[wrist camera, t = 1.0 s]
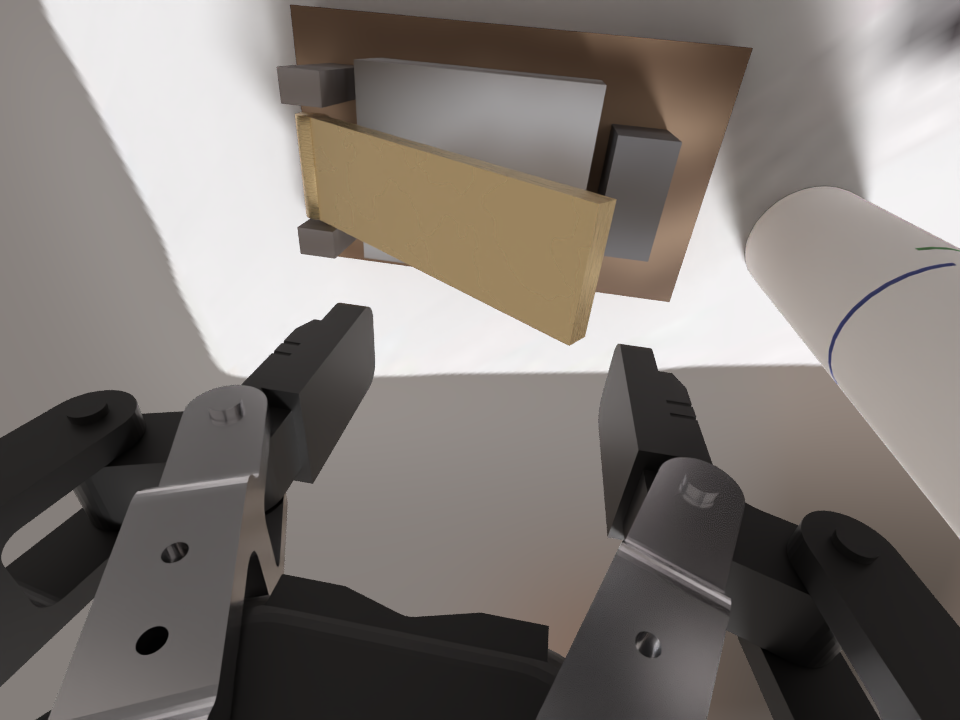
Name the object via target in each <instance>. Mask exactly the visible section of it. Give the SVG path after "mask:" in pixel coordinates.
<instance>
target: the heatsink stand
mask: <svg viewBox="0 0 960 720" xmlns="http://www.w3.org/2000/svg"><path fill="white" fill-rule="evenodd" d="M290 9H291V18H292V27H293V36H294V45H295V55H296V64H297V65H293V66H278V67H277V73H278V81H279V89H280V96H281V103H283V104H291V105H300V106H301V109H302V112H312V113H322V114H327V115H329V117H331V118H335V119H338V120H342V121H345V122H349V123H352V124H356V125H359V126H363V127H366V128H370V129H373V130H377V131H380V132H384V133H387V134H391V135H394V136H398V137H401V138H405V139H408V140H412V141H415V142H419V143H422V144H426V145H429V146H433V147H436V148H440V149H443V150H447V151H450V152H453V153H457V154H460V155H464V156H467V157H471V158H474V159H478V160H481V161H485V162H488V163H492V164H495V165H499V166H502V167H506V168H509V169H513V170H516V171H520V172H523V173H527V174H530V175H534V176H537V177H541V178H544V179H548V180H551V181H555V182H558V183H562V184H565V185H569V186H572V187H576V188H579V189H583V190H586V191H590V192H593V193H597V194H600V195H603V196H607V197H610V198H614V199H617V200H616V204H615V209H614V213H613V217H612V222H611V226H610V230H609V234H608V239H607V243H606V247H605V252H604V256H603V260H602V265H601V269H600V273H599V278H598V282H597V286H596V291H595V292H600V293H608V294H615V295H622V296H629V297H637V298H644V299H651V300H658V301H666V302H670V299H671V296H672V292H673V289H674V286H675V283H676V280H677V277H678V274H679V271H680V268H681V265H682V262H683V259H684V256H685V253H686V250H687V247H688V244H689V241H690V238H691V235H692V232H693V229H694V225H695V222H696V219H697V216H698V213H699V210H700V207H701V204H702V201H703V198H704V195H705V192H706V189H707V186H708V183H709V180H710V177H711V174H712V171H713V168H714V165H715V162H716V158H717V155H718V152H719V149H720V146H721V143H722V140H723V137H724V134H725V131H726V128H727V125H728V122H729V119H730V116H731V113H732V110H733V107H734V104H735V101H736V98H737V95H738V92H739V88H740V85H741V82H742V79H743V76H744V73H745V70H746V67H747V64H748V61H749V58H750V55H751V52H752V49H753V48H747V47H737V46H726V45H715V44H705V43H694V42H683V41H673V40H662V39H651V38H641V37H630V36H619V35H609V34H598V33H587V32H577V31H566V30H555V29H545V28H534V27H523V26H513V25H502V24H491V23H481V22H470V21H459V20H449V19H438V18H427V17H417V16H406V15H395V14H385V13H374V12H363V11H353V10H342V9H331V8H321V7H310V6H299V5H290ZM297 228H298V236H299V244H300V251H301V254H306V255H314V256H321V257H328V258H336V257H337V256H339V257H346V258H353V259H361V260H368V261H375V262H382V263H390V264H397V265H404V266H410V265H408V264H406V263H404V262H402V261H400V260H398V259H396V258H394V257H392V256H390V255H388V254H386V253H385V252H383V251H381V250H379V249H377V248H375V247H373V246H371V245H369V244H367V243H365V242H363V241H361V240H359V239H357V238H355V237H353V236H351V235H349V234H347V233H345V232H343V231H341V230H339V229H337V228H335V227H333V226H331V225H329V224H327V223H325V222H323V221H321V220H316V219H309V220H308V221H306V222H305V223H303V224H302V225H300V226H299V227H297ZM411 267H412V266H411Z"/></svg>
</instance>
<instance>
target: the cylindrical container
mask: <svg viewBox="0 0 960 720" xmlns="http://www.w3.org/2000/svg"><path fill="white" fill-rule="evenodd" d="M745 261H746V265H747V268H748V271H749V272H750V274H751V276H752V278H753V279H754V280H755V281H756V283H757V284H758V285H759V286H760V288H761V289H762V290H763V291H764V293H765V294H766V295H767V297H768V298H769V299H770V300H771V302H772V303H773V304H774V305H775V307H776V308H777V309H778V310H779V312H780V313H781V314H782V315H783V317H784V318H785V319H786V320H787V322H788V323H789V324H790V325H791V327H792V328H793V329H794V331H795V332H796V333H797V334H798V336H799V337H800V338H801V339H802V341H803V342H804V343H805V344H806V346H807V347H808V348H809V349H810V351H811V352H812V353H813V354H814V356H815V357H816V358H817V360H818V361H819V362H820V363H821V365H822V366H823V367H824V368H825V370H826V371H827V372H828V373H829V375H830V376H831V377H832V378H833V380H834V381H835V382H836V383H837V384H838V385H839V387H840V388H841V390H842V391H843V392H844V394H845V395H846V396H847V397H848V398H849V400H850V401H851V402H852V404H853V405H854V406H855V407H856V408H857V410H858V411H859V412H860V414H861V415H862V416H863V417H864V419H865V420H866V421H867V423H868V424H869V425H870V426H871V427H872V429H873V430H874V431H875V433H876V434H877V435H878V436H879V438H880V439H881V440H882V441H883V443H884V444H885V445H886V446H887V448H888V449H889V450H890V451H891V453H892V454H893V455H894V456H895V458H896V459H897V460H898V462H899V463H900V464H901V465H902V467H903V468H904V469H905V470H906V471H907V473H908V474H909V475H910V477H911V478H912V479H913V480H914V482H915V483H916V484H917V485H918V487H919V488H920V489H921V490H922V492H923V493H924V494H925V496H926V497H927V498H928V499H929V501H930V502H931V503H932V504H933V506H934V507H935V508H936V509H937V511H938V512H939V513H940V514H941V516H942V517H943V518H944V519H945V521H946V522H947V523H948V524H949V526H950V527H951V528H952V529H953V531H954V532H955V533H956V534H957V536H958V537H959V538H960V249H959V248H957V247H956V246H954V245H952V244H950V243H948V242H946V241H944V240H942V239H940V238H938V237H936V236H934V235H932V234H930V233H929V232H927V231H925V230H923V229H921V228H919V227H917V226H915V225H913V224H911V223H909V222H907V221H905V220H904V219H902V218H900V217H898V216H896V215H894V214H892V213H890V212H888V211H886V210H884V209H882V208H880V207H878V206H877V205H875V204H873V203H871V202H869V201H867V200H865V199H863V198H861V197H859V196H857V195H855V194H853V193H852V192H850V191H847V190H844V189H841V188H838V187H829V186H821V187H811V188H807V189H803V190H800V191H797V192H795V193H793V194H790V195H788V196H786V197H785V198H783V199H781V200H780V201H778V202H776V203H775V204H774V205H773V206H772V207H770V208H769V209H768V210H767V211H766V212H765V213H764V214H763V215H762V216H761V217H760V218H759V220H758V221H757V222H756V224H755V226H754V227H753V229H752V230H751V232H750V235H749V238H748V240H747V244H746V250H745Z"/></svg>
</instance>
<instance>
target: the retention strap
mask: <svg viewBox="0 0 960 720" xmlns="http://www.w3.org/2000/svg"><path fill="white" fill-rule="evenodd" d="M295 120H296V128H297V137H298V146H299V154H300V163H301V171H302V180H303V188H304V197H305V205H306V214H307V217H308V218H311V219H316V220H321V221H323V222H325V223H327V224H329V225H331V226H333V227H335V228H337V229H339V230H341V231H343V232H345V233H347V234H349V235H351V236H353V237H355V238H357V239H359V240H361V241H363V242H365V243H367V244H369V245H371V246H373V247H375V248H377V249H379V250H381V251H383V252H385V253H386V254H388V255H390V256H392V257H394V258H396V259H398V260H400V261H402V262H404V263H406V264H408V265H410V266H412V267H414V268H416V269H418V270H420V271H422V272H424V273H426V274H428V275H430V276H432V277H434V278H436V279H438V280H440V281H442V282H444V283H446V284H448V285H450V286H452V287H454V288H456V289H458V290H460V291H462V292H464V293H466V294H468V295H470V296H472V297H474V298H476V299H478V300H480V301H482V302H483V303H485V304H487V305H489V306H491V307H493V308H495V309H497V310H499V311H501V312H503V313H505V314H507V315H509V316H511V317H513V318H515V319H517V320H519V321H521V322H523V323H525V324H527V325H529V326H531V327H533V328H535V329H537V330H539V331H541V332H543V333H545V334H547V335H549V336H551V337H553V338H555V339H557V340H559V341H561V342H563V343H565V344H567V345H569V346H570V345H572V344H573V343H575V342H577V341H578V340H580V339H582V338H583V337H585V334H586V329H587V325H588V321H589V316H590V312H591V308H592V303H593V299H594V295H595V291H596V286H597V282H598V278H599V273H600V269H601V265H602V260H603V256H604V252H605V247H606V243H607V239H608V234H609V230H610V226H611V222H612V217H613V213H614V209H615V204H616V200H617V199H614V198H610V197H607V196H603V195H600V194H597V193H593V192H590V191H586V190H583V189H579V188H576V187H572V186H569V185H565V184H562V183H558V182H555V181H551V180H548V179H544V178H541V177H537V176H534V175H530V174H527V173H523V172H520V171H516V170H513V169H509V168H506V167H502V166H499V165H495V164H492V163H488V162H485V161H481V160H478V159H474V158H471V157H467V156H464V155H460V154H457V153H453V152H450V151H447V150H443V149H440V148H436V147H433V146H429V145H426V144H422V143H419V142H415V141H412V140H408V139H405V138H401V137H398V136H394V135H391V134H387V133H384V132H380V131H377V130H373V129H370V128H366V127H363V126H359V125H356V124H352V123H349V122H345V121H342V120H338V119H335V118H331V117H329V115H327V114H322V113H312V112H301V113H295Z"/></svg>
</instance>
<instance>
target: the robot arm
mask: <svg viewBox="0 0 960 720" xmlns="http://www.w3.org/2000/svg"><path fill="white" fill-rule="evenodd" d="M374 370H375V350H374V329H373V314H372V310H371V308H370V307H366V306H359V305H352V304H345V303H337V304H336V305H335V306H334V307H333V308H332V309H331V311H330V312H329V313H328V314H327V315H326V316H325V317H324V318H323V319H322V320H312V321H310V322H308V323H306V324H304V325H302V326H300V327H298V328H296V329H295V330H294V331H293V332H292V333H291V334H290V335H289V336H288V337H287V338H286V339H285V340H284V343H281V344H280V345H279V346H278V347H277V349H276V350H275V351H274V354H273V353H272V354H271V355H270V356H269V357H268V358H267V359H266V360H265V361H264V362H263V363H262V364H261V365H260V366H259V367H258V368H257V369H256V370H255V371H254V372H253V373H252V374H251V375H250V376H249V377H248V378H247V379H246V380H245V382H244V383H243V384H242V385H230V386H223V387H219V388H215V389H212V390H209V391H207V392H205V393H203V394H201V395H199V396H197V397H196V398H195V399H193V400H192V401H191V402H190V403H189V404H188V405H187V406H186V408H185V410H184V411H183V412H166V413H148V414H142V413H141V411H140V408H139V406H138V403H137V401H136V399H135V398H134V397H133V396H132V395H131V394H129V393H126V392H123V391H116V390H104V391H97V392H90V393H87V394H83V395H80V396H77V397H74V398H71V399H69V400H67V401H65V402H63V403H61V404H59V405H57V406H55V407H54V408H52V409H50V410H48V411H47V412H45V413H43V414H42V415H40V416H38V417H36V418H34V419H33V420H31V421H29V422H28V423H26V424H24V425H22V426H20V427H19V428H17V429H15V430H14V431H12V432H10V433H8V434H7V435H5V436H3V437H1V438H0V687H1V686H2V685H3V684H4V683H5V682H6V681H7V680H8V679H9V678H10V677H11V676H12V675H13V674H14V673H15V672H16V671H17V670H18V669H20V667H22V666H23V665H24V664H25V663H26V662H27V661H28V660H29V659H30V658H31V657H32V656H33V655H34V654H35V653H36V652H38V651H39V650H40V649H41V648H42V647H43V645H45V644H46V643H47V642H48V641H49V640H50V639H51V638H52V637H53V636H54V635H55V634H56V633H58V632H59V631H60V630H61V629H62V628H63V627H64V626H65V625H66V624H67V623H68V622H69V621H70V620H71V619H72V618H73V617H74V616H75V615H77V614H78V613H79V612H80V611H81V610H82V609H83V608H84V607H85V606H86V605H87V604H88V603H89V602H90V601H91V600H92V599H93V598H94V600H93V603H92V605H91V608H90V610H89V613H88V616H87V618H86V621H85V624H84V626H83V629H82V631H81V634H80V637H79V639H78V642H77V644H76V647H75V650H74V652H73V655H72V658H71V660H70V663H69V666H68V668H67V671H66V674H65V676H64V679H63V681H62V684H61V687H60V689H59V692H58V695H57V697H56V700H55V702H54V705H53V708H52V710H50V711H49V712H47V713H45V714H44V715H43V716H41V717H39V718H38V719H36V720H707V715H708V710H709V706H710V702H711V697H712V692H713V688H714V683H715V679H716V674H717V670H718V665H719V660H720V656H721V652H722V646H723V643H724V638H725V633H726V630H727V631H729V632H731V633H733V634H735V635H737V636H738V639H739V642H740V644H741V646H742V648H743V651H744V653H745V655H746V658H747V660H748V662H749V664H750V666H751V669H752V671H753V674H754V676H755V678H756V680H757V683H758V685H759V687H760V690H761V692H762V694H763V696H764V699H765V701H766V703H767V705H768V708H769V710H770V712H771V715H772V717H773V719H774V720H880V719H879V717H878V715H877V713H876V712H875V710H874V708H873V707H872V705H871V703H870V702H869V700H868V698H867V696H866V695H865V693H864V691H863V690H862V688H861V686H860V685H859V683H858V681H857V680H856V678H855V676H854V675H853V673H852V671H851V670H850V668H849V666H848V665H847V663H846V661H845V659H844V658H843V656H842V654H841V653H840V651H841V650H842V649H843V651H844V652H845V654H846V656H847V657H848V659H849V661H850V662H851V664H852V666H853V667H854V669H855V671H856V672H857V674H858V676H859V677H860V679H861V681H862V682H863V684H864V686H865V687H866V689H867V691H868V692H869V694H870V695H871V697H872V699H873V701H874V702H875V704H876V706H877V709H878V711H879V714H880V717H881V720H960V627H959V626H958V625H957V624H956V622H955V621H954V620H953V618H952V617H951V616H950V615H949V614H948V613H947V611H946V610H945V609H944V608H943V606H942V605H941V604H940V603H939V602H938V600H937V599H936V598H935V597H934V595H932V593H931V592H930V591H929V589H928V588H927V587H926V586H925V584H924V583H923V582H922V581H921V580H920V578H919V577H918V576H917V575H916V574H915V572H914V571H913V570H912V569H911V568H910V566H909V565H908V564H907V563H906V561H905V560H904V559H903V558H902V557H901V555H900V554H899V553H898V552H897V550H896V549H895V548H894V547H893V546H892V545H891V544H890V543H889V542H888V541H887V540H886V539H885V538H884V537H882V536H881V535H880V534H879V533H877V532H876V531H875V530H873V529H871V528H870V527H869V526H867V525H865V524H864V523H862V522H860V521H858V520H856V519H854V518H851V517H849V516H846V515H843V514H840V513H836V512H831V511H815V512H811V513H809V514H808V515H806V516H805V517H804V518H803V520H802V521H801V523H800V524H799V526H798V525H796V524H793V523H791V522H788V521H786V520H783V519H781V518H778V517H776V516H773V515H771V514H768V513H766V512H763V511H761V510H759V509H756V508H754V507H752V506H751V505H749V504H747V503H745V498H744V495H743V492H742V491H741V489H740V487H739V486H738V484H737V483H736V482H735V481H734V480H733V479H732V478H731V477H730V476H729V475H728V474H727V473H725V472H724V471H723V470H721V469H719V468H718V467H716V466H714V465H713V464H712V461H711V458H710V456H709V453H708V450H707V447H706V444H705V441H704V438H703V435H702V433H701V430H700V427H699V424H698V421H697V420H696V415H695V412H694V410H693V407H691V401H690V398H689V395H688V392H687V389H686V388H685V386H683V384H682V383H681V382H680V381H679V380H678V379H677V378H676V377H675V376H674V375H673V374H672V373H667V372H660V371H658V369H657V365H656V361H655V358H654V354H653V351H652V349H651V348H644V347H638V346H631V345H624V344H618V345H617V346H616V348H615V351H614V354H613V357H612V361H611V365H610V368H609V372H608V376H607V379H606V383H605V387H604V390H603V394H602V398H601V402H600V408H599V419H598V420H599V421H598V423H599V436H600V447H601V460H602V473H603V485H604V499H605V510H606V524H607V536H608V537H609V538H615V539H620V540H623V541H622V543H621V545H620V547H619V549H618V551H617V553H616V555H615V557H614V559H613V561H612V563H611V565H610V567H609V569H608V571H607V573H606V575H605V578H604V580H603V582H602V584H601V586H600V588H599V590H598V592H597V594H596V596H595V598H594V600H593V602H592V604H591V606H590V609H589V611H588V613H587V615H586V617H585V619H584V621H583V623H582V625H581V627H580V629H579V631H578V633H577V635H576V637H575V639H574V641H573V643H572V645H571V648H570V650H569V652H568V654H567V656H566V658H564V657H562V656H561V655H560V654H558V653H556V652H554V651H552V650H550V649H548V629H549V626H546V625H541V624H536V623H531V622H526V621H521V620H515V619H510V618H505V617H500V616H495V615H490V614H485V613H469V614H455V615H454V614H453V615H439V616H425V617H424V616H423V617H408V616H404V615H401V614H399V613H397V612H395V611H393V610H391V609H389V608H387V607H385V606H383V605H381V604H379V603H377V602H375V601H373V600H371V599H369V598H367V597H365V596H363V595H362V594H360V593H357V592H356V591H354V590H352V589H350V588H348V587H346V586H341V585H336V584H331V583H326V582H321V581H316V580H310V579H305V578H300V577H295V576H290V575H285V574H284V567H285V566H284V565H285V546H286V528H287V507H288V501H287V496H286V491H287V490H288V488H289V487H290V485H291V483H292V482H293V480H295V481H300V482H307V483H312V484H313V482H314V481H315V479H316V478H317V476H318V474H319V473H320V471H321V469H322V467H323V466H324V464H325V462H326V461H327V459H328V457H329V455H330V454H331V452H332V450H333V449H334V447H335V445H336V444H337V442H338V440H339V438H340V437H341V435H342V433H343V431H344V430H345V428H346V426H347V425H348V423H349V421H350V420H351V418H352V416H353V414H354V413H355V411H356V409H357V408H358V406H359V404H360V402H361V401H362V399H363V397H364V396H365V394H366V392H367V390H368V389H369V387H370V385H371V382H372V379H373V375H374ZM72 490H73V491H74V493H75V494H76V496H77V498H78V500H79V502H80V503H81V505H82V507H83V508H82V509H80V510H79V511H78V512H77V513H75V514H74V515H73V516H72V517H70V518H69V519H68V520H66V521H65V522H64V523H62V524H61V525H60V526H59V527H57V528H56V529H55V530H54V531H52V532H51V533H50V534H48V535H47V536H46V537H45V538H43V539H42V540H40V541H39V542H38V543H37V544H35V545H34V546H33V547H31V549H29V550H28V551H26V552H25V553H24V554H22V555H21V556H20V557H19V558H17V559H16V560H15V561H13V562H12V563H11V564H10V565H8V566H7V567H6V568H5V567H4V565H3V564H2V561H1V554H2V550H3V548H4V546H5V544H6V542H7V541H8V540H9V538H10V537H11V536H12V535H13V534H14V533H15V532H16V531H18V530H19V529H20V528H21V527H22V526H24V525H25V524H27V523H28V522H30V521H31V520H32V519H34V518H35V517H37V516H38V515H39V514H41V513H42V512H43V511H45V510H46V509H47V508H49V507H50V506H51V505H53V504H54V503H56V502H57V501H58V500H60V499H61V498H62V497H64V496H65V495H67V494H68V493H69V492H71V491H72Z"/></svg>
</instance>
